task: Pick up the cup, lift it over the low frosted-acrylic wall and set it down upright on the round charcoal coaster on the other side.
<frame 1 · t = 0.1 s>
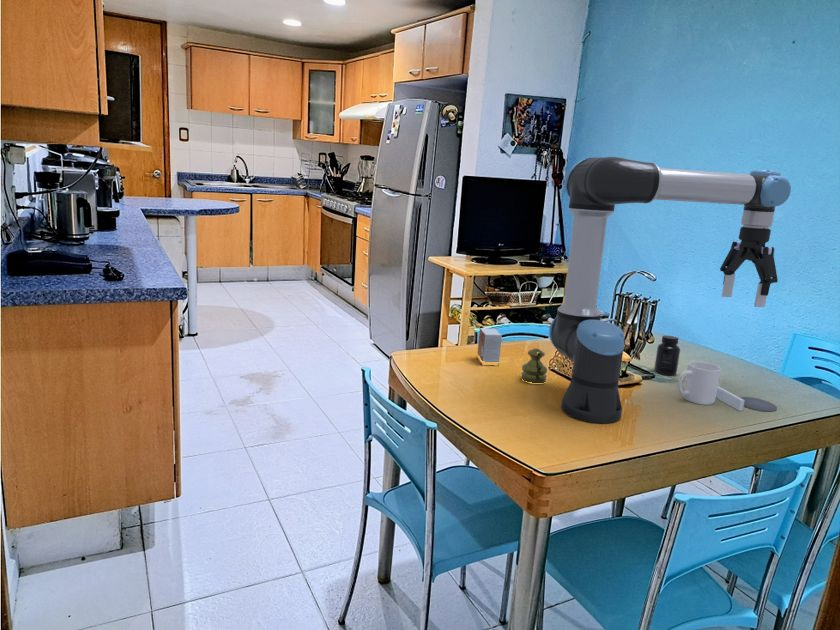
hand: (742, 301, 168), 28 cm above the table, fingers open, 13 cm apart
olive green tiered piece: (533, 381, 175), on the table
cup: (693, 400, 167), on the table
acrylic wall: (723, 401, 167), on the table
supplement bottle: (664, 373, 191), on the table
small box: (487, 363, 191), on the table
coaster: (756, 404, 166), on the table
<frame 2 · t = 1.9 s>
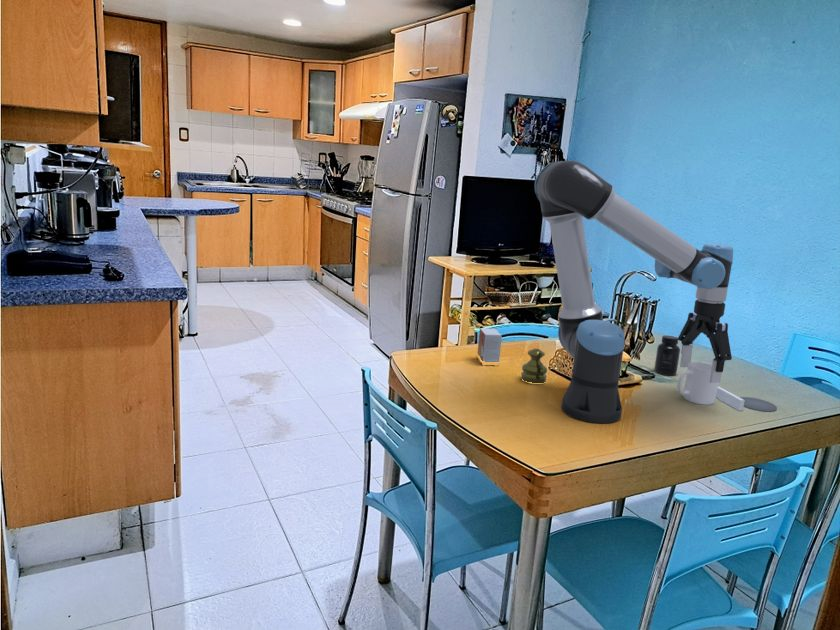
hand: (699, 374, 165), 8 cm above the table, fingers open, 13 cm apart
nothing on the table moved.
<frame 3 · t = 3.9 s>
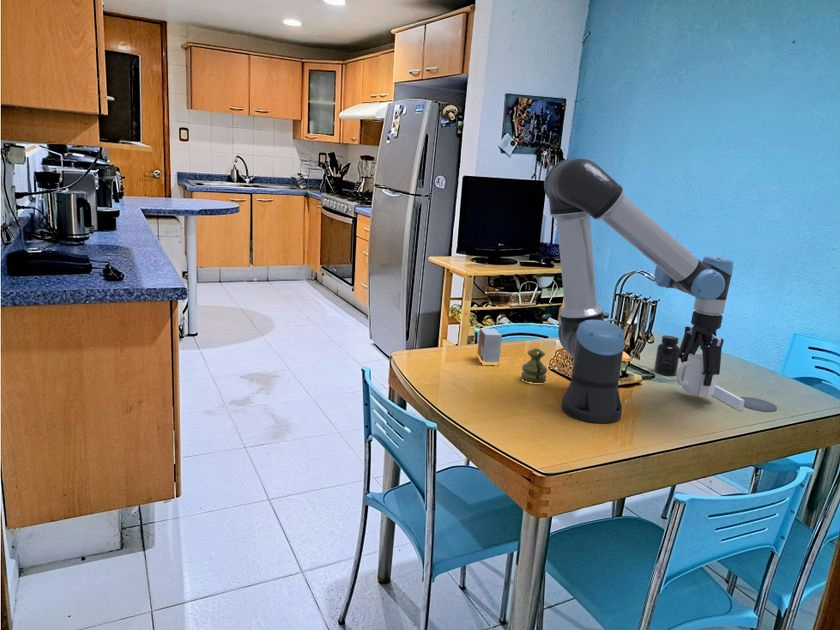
hand: (692, 390, 166), 3 cm above the table, fingers closed on cup, 8 cm apart
cup: (691, 392, 166), point 2 cm above the table, touching gripper
everything else where it was.
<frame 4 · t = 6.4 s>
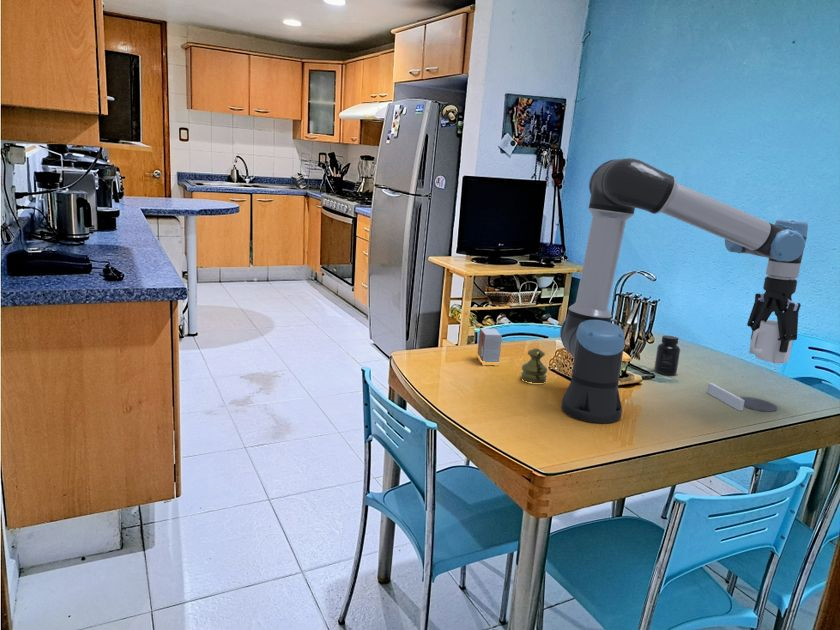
hand: (765, 357, 163), 14 cm above the table, fingers closed on cup, 8 cm apart
cup: (765, 359, 163), point 13 cm above the table, touching gripper
everything else where it was.
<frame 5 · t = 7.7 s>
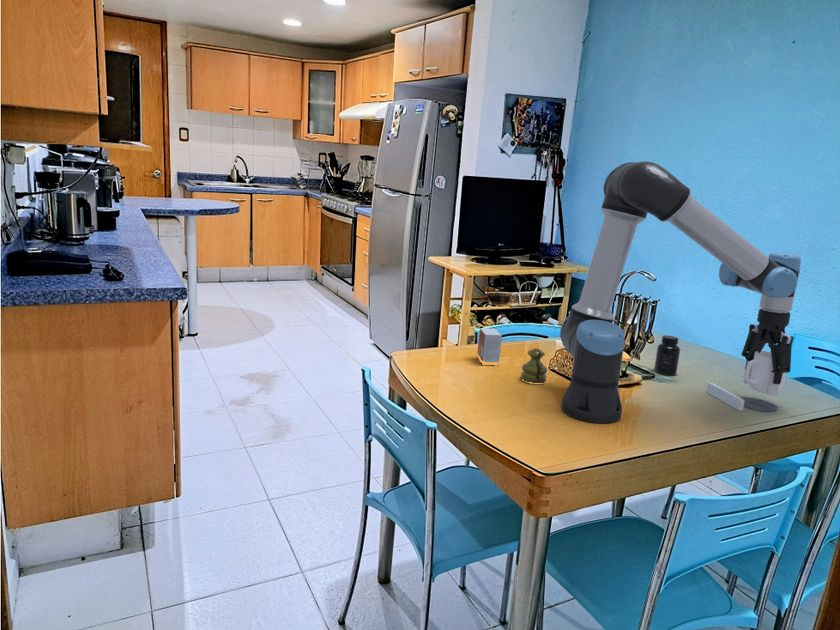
hand: (759, 388, 165), 5 cm above the table, fingers closed on cup, 8 cm apart
cup: (759, 390, 165), point 4 cm above the table, touching gripper
everything else where it was.
when the fingers open (2 cm above the table, at t = 8.9 s): cup drops 1 cm, resting on coaster.
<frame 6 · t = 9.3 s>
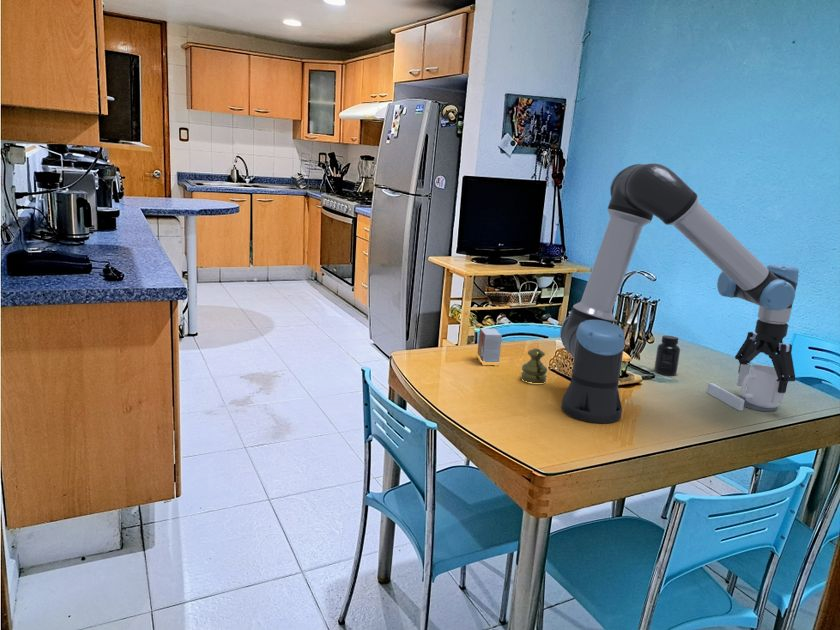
hand: (758, 394, 165), 3 cm above the table, fingers open, 13 cm apart
cup: (755, 404, 166), resting on coaster
everything else where it was.
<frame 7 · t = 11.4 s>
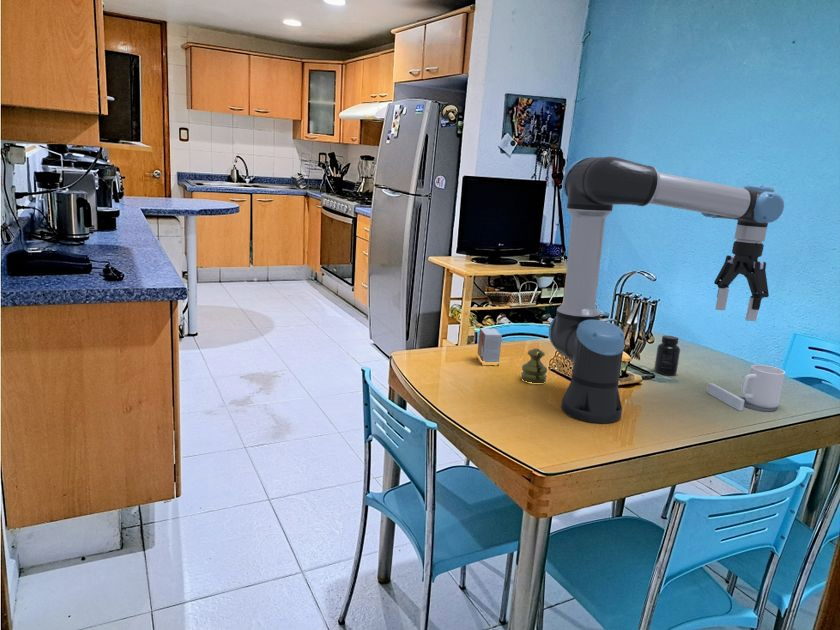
hand: (734, 315, 169), 24 cm above the table, fingers open, 13 cm apart
nothing on the table moved.
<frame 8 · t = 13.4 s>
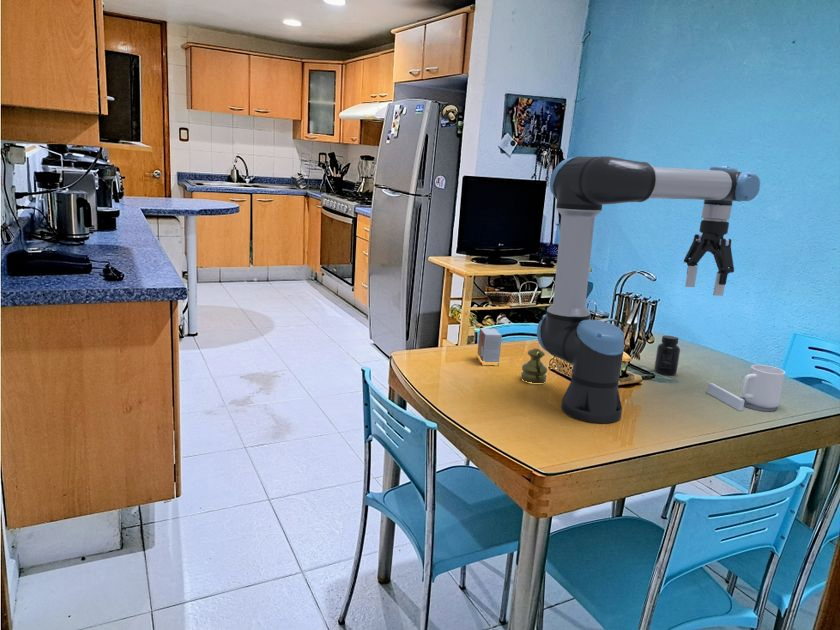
hand: (703, 291, 177), 29 cm above the table, fingers open, 13 cm apart
nothing on the table moved.
at the end: cup 0.1 cm from the coaster (horizontally); cup tilted 0°; the gripper is holding nothing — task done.
